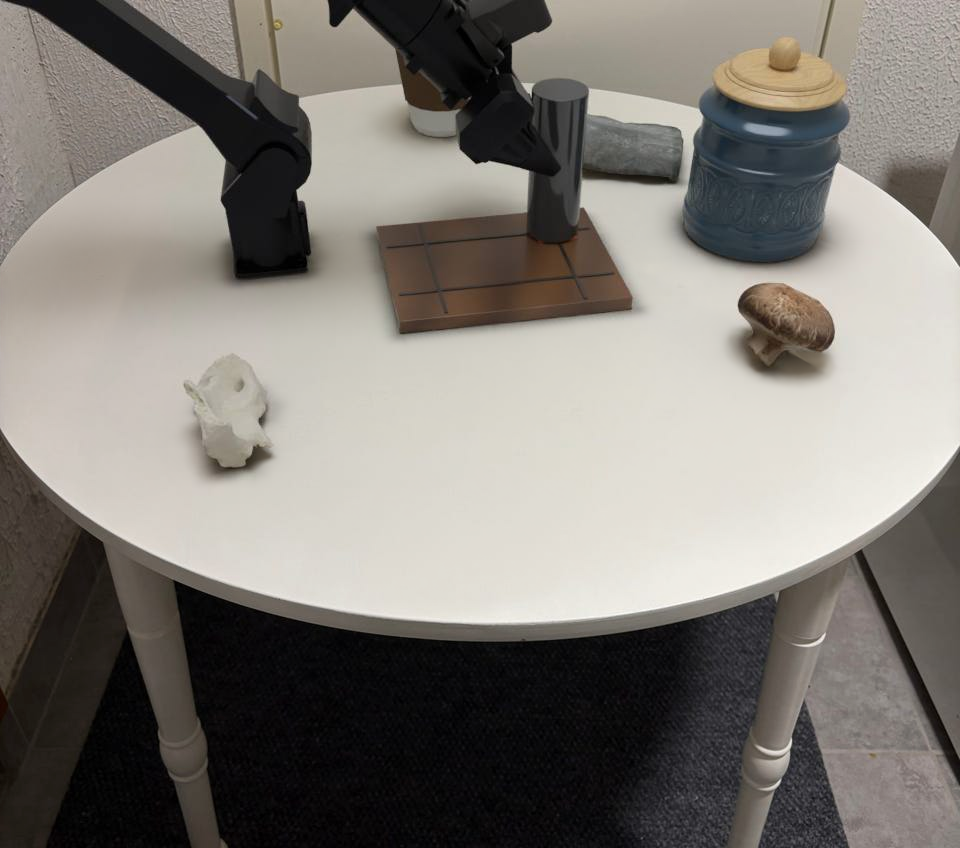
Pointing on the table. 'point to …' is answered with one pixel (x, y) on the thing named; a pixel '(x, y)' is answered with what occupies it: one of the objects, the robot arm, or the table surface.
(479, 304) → the board
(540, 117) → the dark grey cylinder
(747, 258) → the canister
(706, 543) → the table surface
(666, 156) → the stone
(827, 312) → the mushroom
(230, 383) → the coral
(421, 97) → the coffee cup
